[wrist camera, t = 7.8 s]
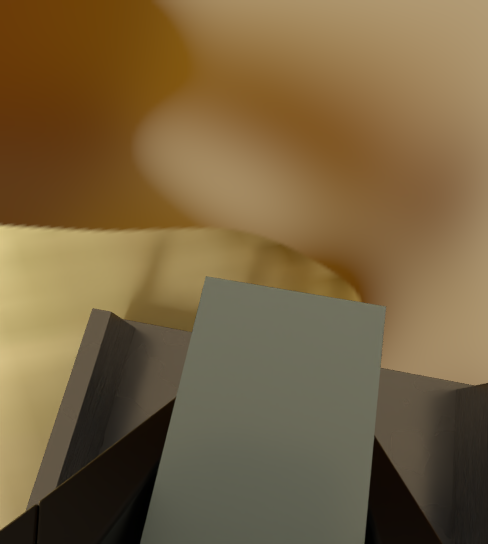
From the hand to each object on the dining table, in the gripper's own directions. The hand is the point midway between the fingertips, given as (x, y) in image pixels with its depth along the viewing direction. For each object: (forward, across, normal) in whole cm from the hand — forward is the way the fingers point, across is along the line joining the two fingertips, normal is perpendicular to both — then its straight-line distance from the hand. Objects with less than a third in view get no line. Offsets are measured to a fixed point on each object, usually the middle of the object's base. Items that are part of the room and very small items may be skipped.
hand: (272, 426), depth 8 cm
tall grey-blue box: (+4, 0, +6) cm, 7 cm away
